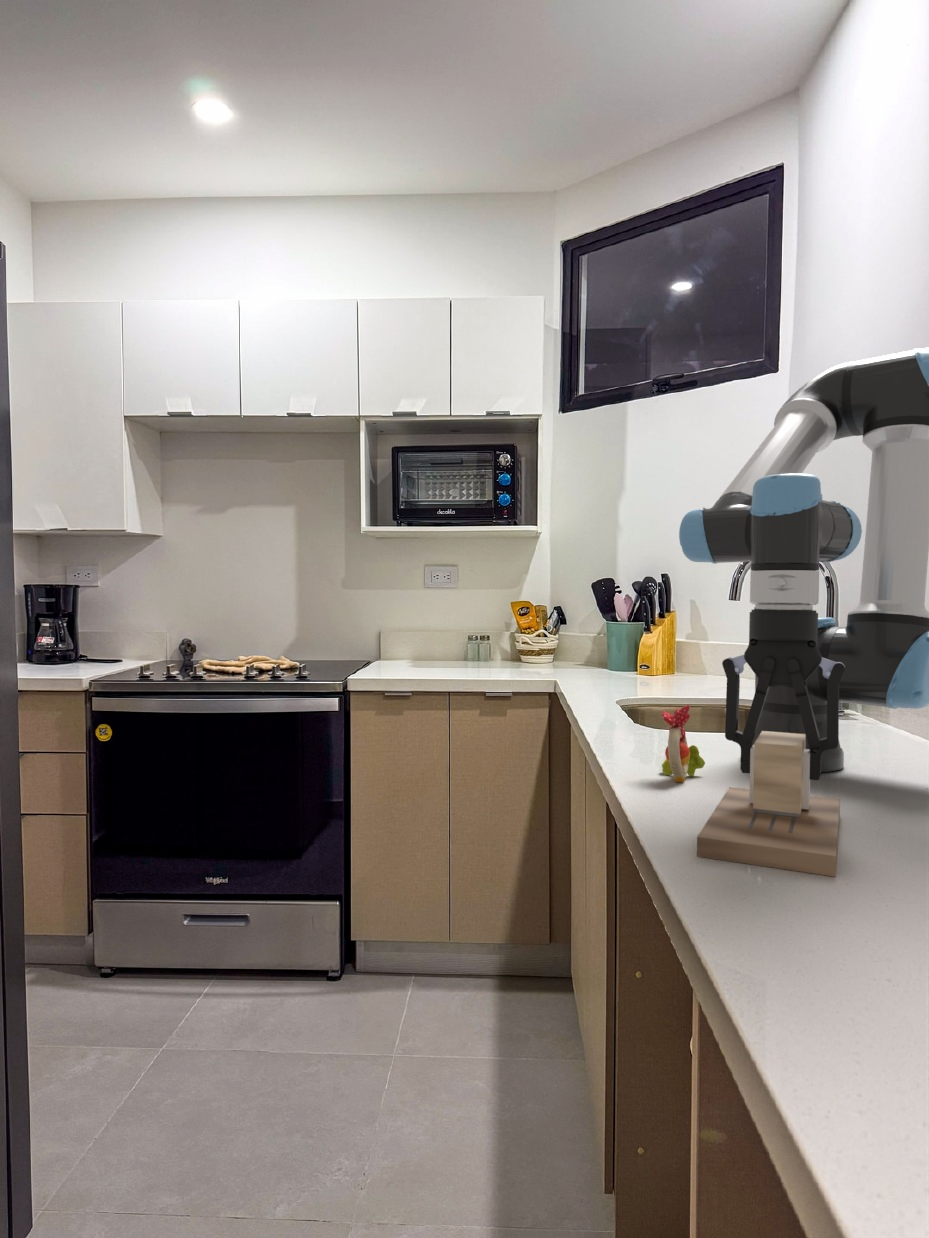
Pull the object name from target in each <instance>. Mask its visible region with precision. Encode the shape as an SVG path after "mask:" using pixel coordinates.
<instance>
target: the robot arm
mask: <svg viewBox="0 0 929 1238" xmlns="http://www.w3.org/2000/svg"><path fill="white" fill-rule="evenodd" d="M773 421H774V423H773V428H772V429H771V430H770V432H769V433H768V434H767V436H766V437H765V438H764V440H763V441H762V443H761V444H759V446H758V448H757V449H756V450H755V451H754V452H753V454H752V455H751V457H750V458H749V459H748V460H747V462H746V463H745V464H744V465H743V467H741V469H740V470H739V472H738V473H737V474H736V476H735V477H734V478H733V480H732V481H731V482H730V483H729V485H728V487H726V489H725V490H724V492H722V494H721V495H720V497H719V498H718V499H717V500H716V502H715V503H714V504H713V506H712V507H710V508H706V507H701V508H700V509H693V510H690V511H688V512H687V513H686V514H685V515H684V516H683V517H682V518H681V519H682V520H681V523H680V524H679V525H680V526H679V532H678V538H679V544H680V546H681V547H680V548H681V551H682V552H683V555H684V557H686V558H687V559H688V561H689V560H690V561H691V562H694V563H712V564H716V565H717V564H722V563H723V564H724V563H746V562H748V563H751V564H750V579H749V580H750V582H749V603H750V604H751V605H754V609H751V611H750V612H749V623H748V624H749V626H748V627H749V629H748V630H749V631H748V632H749V633H748V634H749V635H748V645H747V648H746V650H745V651H744V654H741V655H738V656H733V657H727V658H725V659H723V660H722V668H723V671H724V674H725V677H726V695H725V696H726V697H725V698H726V699H725V724H724V727H725V728H724V729H725V730H724V738H725V739H726V740H727V741H730V742H734V743H736V744H737V745H739V747H740V771H741V773H742V774H749V789H750V799H749V803H753V794H754V743H755V741H756V740H757V738H758V737H759V735H760V733H761V732H762V731H770V732H784V733H797V734H806V739H805V749H804V751H803V772H802V809H807V810H809V805H810V796H811V780H812V781H819V780H820V778H821V775H822V773H823V772H825V773H826V772H827V773H828V772H834V771H838V770H841V769H844V765H845V764H844V763H845V753H844V750H843V748H842V747H841V744H840V740H839V739H840V738H839V736H840V735H839V734H840V733H839V732H840V730H839V728H840V727H839V726H840V725H839V721H840V720H839V719H840V717H839V716H840V713H839V712H840V709H839V708H840V703H845V704H856V705H862V706H873V707H884V708H888V709H893V710H897V709H910V710H912V709H913V710H918V709H923V708H925V707H927V706H928V705H929V610H927V609H926V606H925V602H926V592H927V590H926V588H927V577H928V565H929V564H928V562H929V347H925V348H918V347H917V348H914V349H912V350H908V351H907V350H906V351H901V352H898V353H897V352H896V353H891V354H887V355H882V356H881V355H880V356H877V357H871V358H865V359H861V360H856V361H849V362H844V363H840V364H838V365H835V366H833V367H830V368H829V369H826V370H825V371H823V372H821V373H819V374H818V375H817V376H814V377H813V378H811V379H810V380H809V381H808V382H806V383H805V384H803V385H802V386H801V387H800V388H798V390H796V391H795V392H794V393H792V394H791V396H790V397H789V398H788V399H787V400H786V401H785V402H784V404H783V405H782V406H780V408H779V410H778V411H777V413H776V415H775V417H774V420H773ZM858 436H860V437H861V436H862V443H863V445H865V446H866V447H867V448H868V449H869V450H870V451H871V461H870V462H871V463H870V464H871V466H870V476H869V486H868V487H869V488H868V498H867V499H868V501H867V513H866V525H865V537H864V547H863V560H862V571H861V583H860V584H861V585H860V597H859V598H860V599H859V603H858V605H857V606H855V607H854V608H853V609H852V610H850V611H849V612H847V616H846V617H847V619H846V626H837V623H836V621H835V618H833V617H829V616H828V617H819V612H817V610H815V609H814V610H813V608H814V607H813V606H816V605H818V604H819V597H820V596H819V595H820V593H819V592H820V591H819V590H820V562H821V563H822V562H827V563H831V562H834V561H840V560H842V559H845V558H846V557H848V556H850V555H851V554H852V553H853V552H854V551H855V549H856V548H857V547H858V545H859V543H860V541H861V538H862V532H863V530H862V523H861V521H860V518H859V516H858V515H857V514H856V513H855V512H854V510H853V509H851V508H850V507H847V506H845V505H844V504H841V503H840V502H837V501H834V500H829V501H828V500H825V499H824V500H823V494H822V488H821V481H820V479H819V478H818V477H817V475H814V474H809V473H803V472H805V470H806V468H807V467H808V466H809V464H810V462H811V461H812V459H813V458H814V457H815V455H817V453H820V452H822V451H824V450H825V449H827V448H828V447H829V446H830V445H831V443H832V442H834V441H836V440H839V439H842V438H849V437H858ZM745 664H747V666H749V668H750V669H751V670H752V672H753V673H754V676H755V677H754V680H755V682H754V692H755V693H754V696H753V699H752V702H751V706H750V709H749V712H748V716H747V719H746V722H745V726H744V727H743V732H742V731H740V730H739V716H740V715H739V714H740V713H739V712H740V686H741V684H740V682H741V677H740V674H742V673H743V672H744V670H745V668H744V666H745Z"/></svg>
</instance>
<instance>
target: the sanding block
mask: <svg viewBox="0 0 929 1238" xmlns="http://www.w3.org/2000/svg"><path fill="white" fill-rule="evenodd" d="M805 739H806V734H797V733H784V732H770V731H762V732H761V733H760V735H759V737H758V738H757V740H756V741H755V743H754V794H753V812H758V813H767V814H775V815H784V816H792V817H800V816H801V811H802V772H803V751H804V749H805Z"/></svg>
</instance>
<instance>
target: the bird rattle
mask: <svg viewBox="0 0 929 1238" xmlns="http://www.w3.org/2000/svg"><path fill="white" fill-rule="evenodd" d="M690 710H691V705H689V704H687V705H684V706H683V707H682V706H681V708H677V709H675V710H674V712H673V715H672V714H670V713H669V712H667V711H665V710H664V711H663V712H662V713H661V715H660V716H661V718H662V719H663V720H664V721H665V722H666V723H667V724H668V725H669V726H670V728H669V730H668V732H669V733H668V740H667V746H666V748H665V751H664V752H665V759H664V761H663V762H662V764H661V769H662V773H663V775H665V776H671V775H673V780H674V782H676V783H684V782H685V780H686V777H687V775H688V776H689V777H693V776H695V772H696V771H697V769H703V768H704V767H705V764H706V762H705V760H704V758H703V757H701V755H700V751H699V748H698V747H697V746H696V745H693V744H692V745H690V746H688V741H687V737H686V731H685V730H686V729H685V728H684V726H685V725H686V724H687V722H688V721H689V719H690V717H691V716H690V713H689V711H690Z"/></svg>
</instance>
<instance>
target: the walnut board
mask: <svg viewBox="0 0 929 1238" xmlns="http://www.w3.org/2000/svg"><path fill="white" fill-rule="evenodd" d="M749 799H750V788H742V787H732V786H729V787H728V789H727V790H726V791H725V793H724V795H723V797H722V798H721V799H720V801H719V803H718V804H717V806H716V807H715V809H714V810H713V812H712V813H711V815H710V817H709V818H708V820H707V821H706V822H705V824H704V826H703V828H702V829H701V830H700V832H699V833H698V835H697V837H696V857H699V858H708V859H713V860H720V861H726V862H733V863H741V864H747V865H754V866H761V867H768V868H774V869H780V870H786V871H787V870H788V871H795V872H802V873H806V874H807V873H808V874H814V875H822V876H829V877H835V878H836V877H837V864H838V862H837V860H838V845H839V832H840V830H839V829H840V812H841V811H840V810H841V809H840V808H841V798H833V797H826V796H825V797H824V796H815V795H810V805H809V810H807V809H802V811H801V816H800V817H792V816H784V815H775V814H767V813H758V812H753V803H749Z"/></svg>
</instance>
